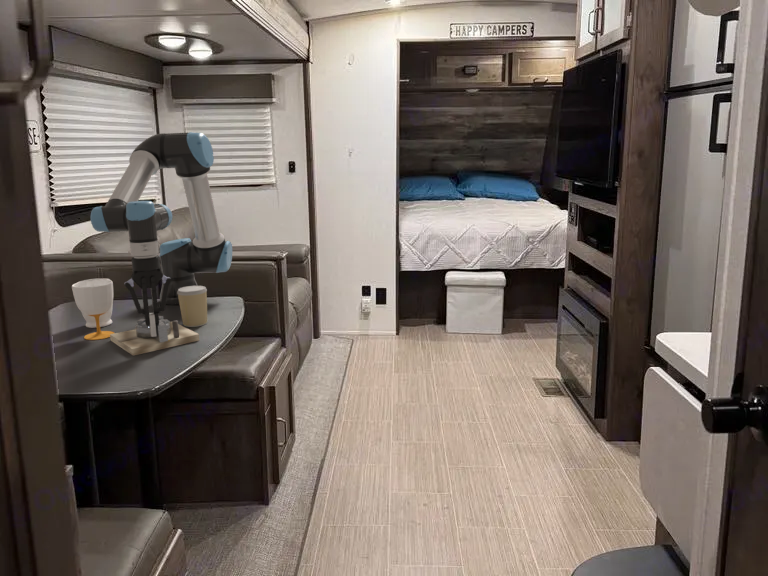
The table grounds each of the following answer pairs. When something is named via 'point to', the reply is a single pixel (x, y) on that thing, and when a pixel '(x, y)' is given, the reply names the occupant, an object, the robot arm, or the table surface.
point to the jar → (103, 318)
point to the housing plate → (153, 340)
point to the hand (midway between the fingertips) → (153, 335)
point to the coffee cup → (193, 305)
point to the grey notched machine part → (161, 329)
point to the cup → (94, 302)
